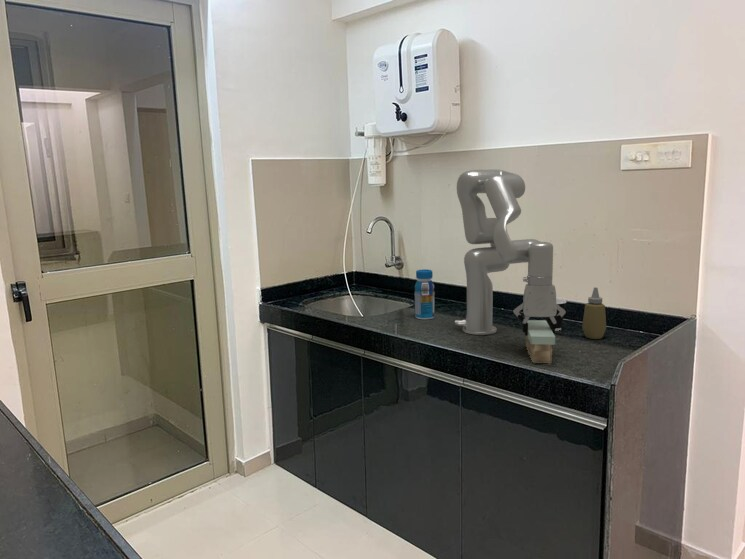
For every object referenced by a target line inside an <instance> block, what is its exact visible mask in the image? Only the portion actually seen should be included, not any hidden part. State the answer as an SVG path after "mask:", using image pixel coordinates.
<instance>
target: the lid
mask: <svg viewBox="0 0 745 559" xmlns="http://www.w3.org/2000/svg"><path fill="white" fill-rule="evenodd" d="M527 323H528V335H527V336H528V339H529V341H530V344H546V345H552V346H553V345H556V335H555V333H553V332H552V330H551V329H550V327H549V325H548V323H547V320H545V319H543V320H542V319H541V320H540V319H539V320H537V319H533V320H532V319H531V320H530V319H528V321H527Z"/></svg>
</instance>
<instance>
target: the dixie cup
mask: <svg viewBox="0 0 745 559" xmlns="http://www.w3.org/2000/svg"><path fill="white" fill-rule="evenodd" d="M556 303H557V305H559V306H560V307H561V308H562V309H564V310H565V308H566V304H567V300H565V299H559V298H556ZM565 311H566V310H565ZM559 312H560V311H558V310H557V313H556V315H558V314H559ZM564 316H565V314H564V315H563V316H562V317H561V319H560V320H559V321H558V322H557V323H556V324H555V332H560V331H562V328H563V322H564ZM554 317H555V316H554ZM545 318H546V321H547V323H548V325H549V327H550V322H551V319H550V317H545ZM559 330H560V331H559Z"/></svg>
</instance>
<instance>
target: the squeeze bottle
mask: <svg viewBox="0 0 745 559" xmlns="http://www.w3.org/2000/svg"><path fill="white" fill-rule="evenodd" d="M581 324H582V326H581V328H582V331H583V334H584V336H585V338H588V339H590V340H591V339H594V340H599V339H602V338H604V335H605V333H606V330H607V317H606V305H605V304H604V303H603V297H601V296H600V294H599V289H598V287H593V290H592V294H591V296H589V297H588V299H587V303H585V305H584V312H583V317H582V323H581Z"/></svg>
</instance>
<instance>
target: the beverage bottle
mask: <svg viewBox="0 0 745 559" xmlns="http://www.w3.org/2000/svg"><path fill="white" fill-rule="evenodd" d="M415 275H416V277H415V278H416V279H417V280H416V282H415V285H414V312H415V313H414V316H415V318H416V319H417V320H425V321H426V320H433V319H434V318H435V317H436V315H435V295H436V292H435V290H434V289H435V284H434V282H433V280H432V279H433V269H432V270H431V269H426V268H425V269H418V270H416V271H415Z"/></svg>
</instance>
